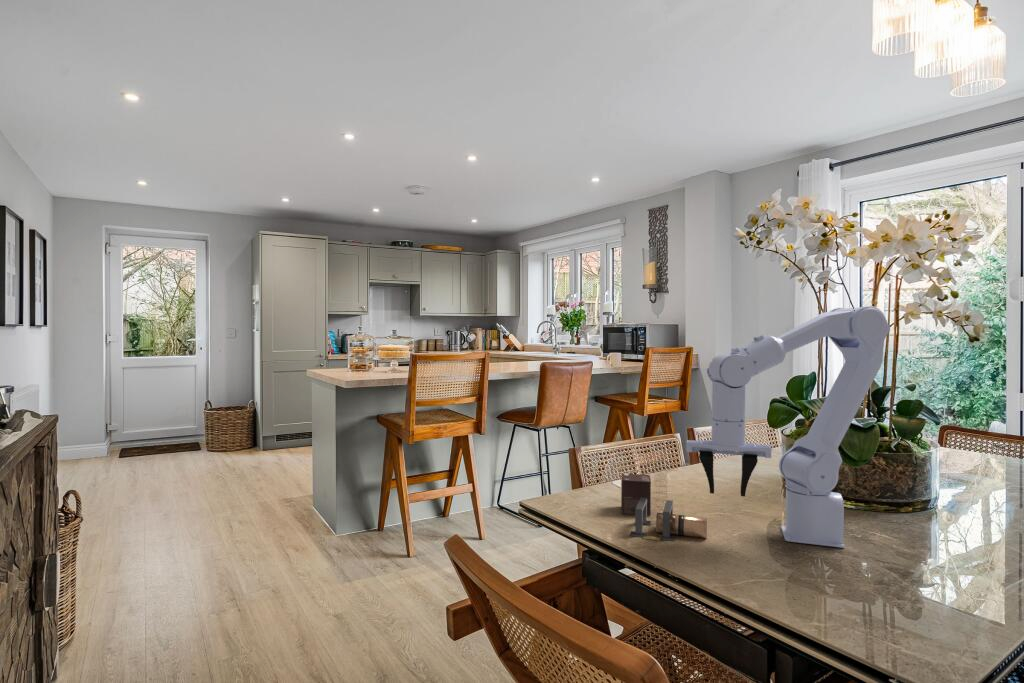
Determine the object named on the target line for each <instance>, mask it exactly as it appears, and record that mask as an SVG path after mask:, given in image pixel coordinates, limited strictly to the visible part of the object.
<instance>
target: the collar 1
mask: <svg viewBox="0 0 1024 683" xmlns="http://www.w3.org/2000/svg"><path fill="white" fill-rule="evenodd" d="M634 516H635V518H634V521H635V522H634V524H635V526H634V529H635V530H631V531H630V532H629V536H630V537H637V538H643V536H648V533H647V532H643V529H644V528H643V526H652V523H653V522H652V521H651V520H648V516H647V498H640V500H639V502H638V504H637V507H636V509H635V515H634Z"/></svg>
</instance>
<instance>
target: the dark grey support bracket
mask: <svg viewBox="0 0 1024 683" xmlns="http://www.w3.org/2000/svg"><path fill="white" fill-rule="evenodd" d="M662 513H663V533H662V534H659V533H658V534H657V536H656V537H657V538H660V541H661V540H662V541H670V542H675V540H676V536H674V535H671V534H670V514H674V500H670V499H669V500H668V499H666V500H665V504H664V507H663V510H662Z"/></svg>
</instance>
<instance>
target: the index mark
mask: <svg viewBox="0 0 1024 683" xmlns="http://www.w3.org/2000/svg"><path fill="white" fill-rule="evenodd" d="M657 537H658V536H650V535H647V536H643V537H642V539H645V540H651V541H659V542H660V541H661V539H660V538H657Z"/></svg>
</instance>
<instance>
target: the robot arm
mask: <svg viewBox="0 0 1024 683" xmlns="http://www.w3.org/2000/svg"><path fill="white" fill-rule="evenodd" d="M853 308H854V309H853ZM854 310H855V311H854ZM890 330H891V327H890V326H889V324H888V321H887V319H886V316H885V314H884V312H883V311H882V310H881V309H880V308H878V307H876V306H873V305H865V306H862V307H835V308H833V309H831V310H830V311H826V312H822V313H820V314H817V315H816V316H815V317H813V318H811V319H809V320H807V321H805V322H803V323H801V324H800V325H797V326H796V327H794V328H792V329H790V330H788V331H786V332H785V333H783V334H781V335H778V336H777V337H775V336H772V335H769V334H765V335H764V334H758V335H756V336H753V341H750V342H749V343H746V344H744V345H742V346H740V347H738V346H735V347H732V348H730V354H726V353H725V354H724V353H723V354H718V355H716V356H714V357H713V358H712V359H711V360H712V361H710V363H709V365H708V367H707V368H706V374H707V377H708V378H709V380H710V381H711V384H712V386H711V388H712V392H711V440H694V439H693V440H692V439H691V440H690V439H687V440H686V445H685V446H686V453H698V456H699V457H698V458H699V461H700V463H701V464H702V466H703V470H704V472H705V475H706V478H707V481H708V486H709V493H710V494H715V478H714V476H715V475H714V454H720V455H732V456H733V455H734V456H741V481H740V497H746V493H747V487H748V485H749V484H748V483H749V481H750V478H751V477H752V474H753V471H754V470H755V468H756V466H757V464H758V460H759V459H758V457H761V458H766V459H772V446H771V445H767V444H757V443H749V442H746V441H745V439H746V438H745V437H746V436H745V435H746V385H747V384H749V382H750V381H751V379H752V378H753V377H755V376H756V375H759V374H761V373H763V372H765V371H767V370H769V369H772V368H774V367H775V366H778V365H780V364H782V363H783V362H784V360H785V359H786V358H785V357H786V355H787V354H788V353H789V352H792V351H795V350H797V349H799V348H801V347H804V346H806V345H810V343H814V342H815V341H818V340H820V339H823V338H825V337H826V338H827V337H828V338H829V339H830V341H831V342H832V343H833V344H834V345H835V347H836V348H837V349H838V350H839V351H840V352H841V354H842V356H843V358H844V361H845V362H844V364H843V366H842V367H841V370H840V371H839V373H838V375H837V377H836V379H835V381H834V383H833V384H832V387H831V389H830V390H829V392H828V394H827V395H826V398H825V400H824V402H823V403H822V406H821V408H820V409H819V411H818V413H817V415H816V417H815V419H814V421H813V422H812V425H811V426H810V428H809V429H808V430H809V431H808V432H807V434H805V435H803V436H801V437H800V438H798V439H797V440H795V441H794V443H793V445H792V446H791V448H790V449H788V450H787V451H785V452H784V453H783V454H782V456H781V457H780V460H779V463H778V468H779V472H780V474H781V476H782V477H783V478H784V479H785V525H781V526H780V527H781V528H780V529H781V532H782V535H783V537H784V541H786V542H792V543H799V544H808V545H817V546H824V547H834V548H841V549H842V548H845V544H844V538H845V537H844V531H845V530H844V528H845V527H844V526H845V523H844V522H845V521H844V520H845V519H844V518H845V507H844V499H843V496H842V494H841V493H839V492H833V489H835V487H836V486H837V484H838V482H839V471H840V468H841V465H842V464H843V459H842V458H843V457H842V456H841V454H840V451H839V447H840V445H841V443H842V441H843V439H844V437H845V435H846V434H847V431H848V430H849V428H850V426H851V424H852V422H853V420H854V418H855V416H856V414H857V413H858V410H859V409H860V406H861V405H862V403H863V401H864V399H865V397H866V395H867V394H868V392H869V390H870V388H871V386H872V384H873V382H874V381H875V378H876V376H877V374H878V372H879V370H880V369H881V367H882V364H883V359H884V346H885V340H886V338H887V336H888V334H889V332H890Z"/></svg>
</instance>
